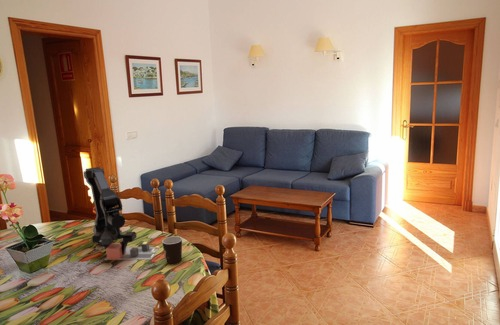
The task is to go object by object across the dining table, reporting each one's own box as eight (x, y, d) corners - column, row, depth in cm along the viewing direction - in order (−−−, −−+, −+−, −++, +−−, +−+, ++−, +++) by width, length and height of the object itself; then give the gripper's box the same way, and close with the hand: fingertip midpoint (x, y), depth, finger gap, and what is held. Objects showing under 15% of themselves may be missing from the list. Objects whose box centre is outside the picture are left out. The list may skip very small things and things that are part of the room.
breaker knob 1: (130, 256, 170) (129, 250, 170) (133, 253, 173) (132, 247, 173) (136, 256, 170) (135, 250, 170) (138, 253, 173) (137, 247, 173)
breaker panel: (104, 262, 170) (103, 258, 170) (116, 249, 183) (116, 246, 182) (151, 261, 168) (151, 258, 167) (160, 249, 180) (160, 245, 180)
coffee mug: (181, 265, 163) (179, 243, 161) (162, 266, 163) (159, 244, 161) (186, 253, 174) (185, 233, 172) (168, 254, 175) (166, 233, 173)
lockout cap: (107, 259, 170) (105, 248, 169) (113, 253, 176) (111, 242, 175) (120, 259, 169) (119, 248, 168) (126, 253, 175) (124, 242, 174)
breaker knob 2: (141, 250, 176) (141, 244, 175) (144, 247, 179) (143, 241, 178) (147, 250, 176) (146, 244, 175) (149, 247, 179) (148, 241, 178)
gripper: (83, 229, 162) (88, 262, 166) (125, 228, 161) (129, 262, 164) (95, 220, 173) (100, 251, 176) (135, 219, 171) (138, 251, 175)
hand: (116, 254), depth 173 cm, fingers closed on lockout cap, 6 cm apart
